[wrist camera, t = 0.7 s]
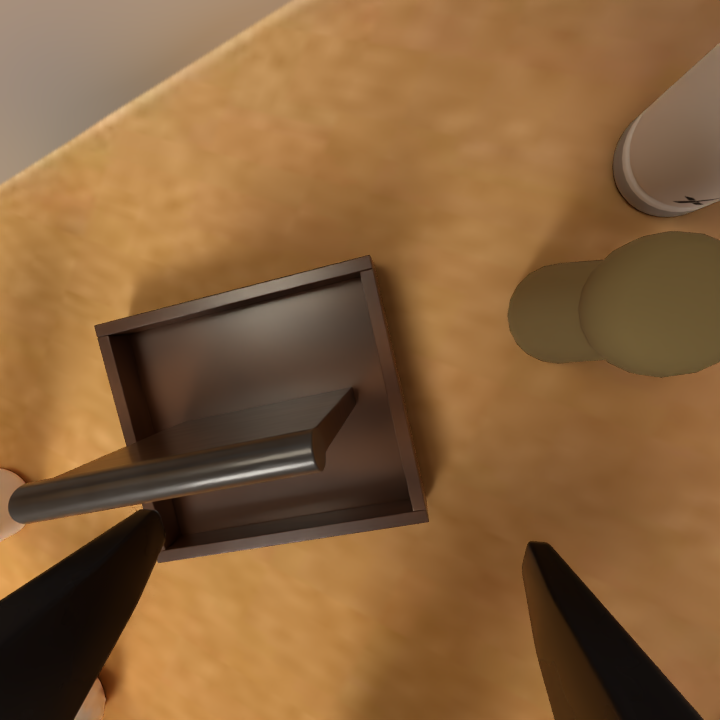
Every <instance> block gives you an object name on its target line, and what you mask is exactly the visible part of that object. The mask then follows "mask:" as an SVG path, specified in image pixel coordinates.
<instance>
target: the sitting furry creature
mask: <svg viewBox="0 0 720 720" xmlns="http://www.w3.org/2000/svg"><path fill="white" fill-rule="evenodd" d="M105 701H106V698H105V694H104V690H103V687H102V685H101V682H100V681H99V679H98V677H97V679H96V680H95V682H94V684H93V686H92V688H91V690H90V691H89V693H88V695H87V697H86V699H85V700H84V702H83V704H82V706H81V708H80V710H79V711H78V713H77V715H76V717H75V719H74V720H101V719H102V717H103V715H104V708H105Z"/></svg>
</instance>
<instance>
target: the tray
mask: <svg viewBox="0 0 720 720" xmlns="http://www.w3.org/2000/svg"><path fill="white" fill-rule="evenodd" d="M94 327H95V331H96V334H97V337H99V338H98V342H99V346H100V349H101V353H102V357H103V361H104V364H105V368H106V372H107V375H108V379H109V383H110V387H111V390H112V394H113V398H114V402H115V405H116V409H117V413H118V416H119V420H120V424H121V428H122V431H123V435H124V439H125V442H126V447H124V448H121V449H119V450H117V451H115V452H112V453H110V454H108V455H105V456H103V457H101V458H98V459H96V460H94V461H91V462H89V463H87V464H84V465H82V466H80V467H77V468H75V469H73V470H70V471H68V472H66V473H63V474H61V475H59V476H56V477H54V478H50V479H45V480H40V481H35V482H30V483H26V484H23V485H21V486H20V487H18V488H17V489H16V490H15V491H14V492H13V493H12V495H11V497H10V499H9V502H8V512H9V515H10V516H11V518H12V519H13V520H14V521H16V522H18V523H21V524H30V523H35V522H41V521H47V520H52V519H58V518H64V517H69V516H75V515H81V514H86V513H92V512H98V511H103V510H109V509H115V508H120V507H126V506H131V505H137V504H142V506H143V509H149V510H156V511H158V512H159V514H160V517H161V520H162V522H163V525H164V528H165V531H166V539H165V542H164V545H163V547H162V549H161V552H160V554H159V556H158V558H157V561H158V563H161V562H168V561H174V560H181V559H187V558H194V557H201V556H207V555H214V554H220V553H227V552H234V551H240V550H247V549H254V548H260V547H267V546H273V545H280V544H287V543H293V542H300V541H306V540H313V539H320V538H326V537H333V536H339V535H346V534H353V533H359V532H366V531H373V530H379V529H386V528H392V527H399V526H406V525H412V524H419V523H425V522H429V518H428V509H427V501H426V496H425V492H424V487H423V483H422V478H421V474H420V469H419V464H418V460H417V455H416V451H415V446H414V442H413V437H412V433H411V428H410V424H409V419H408V415H407V410H406V406H405V401H404V396H403V392H402V387H401V383H400V378H399V374H398V369H397V365H396V360H395V356H394V351H393V347H392V342H391V337H390V333H389V328H388V324H387V319H386V315H385V310H384V306H383V301H382V297H381V292H380V288H379V283H378V278H377V274H376V269H375V265H374V262H373V260H372V258H371V256H370V255H367V256H363V257H359V258H355V259H352V260H348V261H344V262H340V263H336V264H332V265H328V266H324V267H320V268H317V269H313V270H309V271H305V272H301V273H297V274H293V275H289V276H285V277H281V278H278V279H274V280H270V281H266V282H262V283H258V284H254V285H250V286H246V287H242V288H239V289H235V290H231V291H227V292H223V293H219V294H215V295H211V296H207V297H203V298H200V299H196V300H192V301H188V302H184V303H180V304H176V305H172V306H168V307H164V308H161V309H157V310H153V311H149V312H145V313H141V314H137V315H133V316H129V317H126V318H122V319H118V320H114V321H110V322H106V323H102V324H98V325H95V326H94Z"/></svg>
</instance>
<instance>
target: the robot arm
mask: <svg viewBox="0 0 720 720" xmlns="http://www.w3.org/2000/svg"><path fill="white" fill-rule="evenodd" d="M165 539H166V531H165V528H164V525H163V522H162V520H161V517H160V514H159V512H158V511H156V510H149V509H141V510H139V511H137V512H135V513H134V514H132V515H131V516H129V517H128V518H126V519H124V520H123V521H121V522H120V523H118V524H117V525H115V526H114V527H112V528H111V529H109V530H108V531H106V532H105V533H103V534H101V535H100V536H98V537H97V538H95V539H94V540H92V541H91V542H89V543H88V544H86V545H85V546H83V547H82V548H80V549H78V550H77V551H75V552H74V553H72V554H71V555H69V556H68V557H66V558H65V559H63V560H62V561H60V562H59V563H57V564H55V565H54V566H52V567H51V568H49V569H48V570H46V571H45V572H43V573H42V574H40V575H39V576H37V577H36V578H34V579H32V580H31V581H29V582H28V583H26V584H25V585H23V586H22V587H20V588H19V589H17V590H16V591H14V592H13V593H11V594H9V595H8V596H6V597H5V598H3V599H2V600H0V720H74V719H75V717H76V715H77V713H78V711H79V710H80V708H81V706H82V704H83V702H84V700H85V699H86V697H87V695H88V693H89V691H90V690H91V688H92V686H93V684H94V682H95V680H96V679H97V677H98V675H99V673H100V671H101V670H102V668H103V666H104V664H105V662H106V660H107V659H108V657H109V655H110V653H111V651H112V649H113V648H114V646H115V644H116V642H117V640H118V639H119V637H120V635H121V633H122V631H123V629H124V628H125V626H126V624H127V622H128V620H129V618H130V617H131V615H132V613H133V611H134V609H135V607H136V605H137V603H138V601H139V599H140V597H141V595H142V592H143V590H144V588H145V586H146V583H147V581H148V579H149V577H150V574H151V572H152V570H153V568H154V565H155V563H156V561H157V558H158V556H159V554H160V552H161V549H162V547H163V545H164V542H165ZM522 575H523V581H524V587H525V592H526V598H527V604H528V609H529V615H530V621H531V626H532V632H533V638H534V643H535V648H536V653H537V657H538V661H539V665H540V668H541V672H542V676H543V679H544V683H545V686H546V690H547V694H548V697H549V701H550V704H551V708H552V712H553V715H554V719H555V720H704V719H703V718H702V717H701V716H700V715H699V714H698V713H697V711H696V710H695V709H694V708H693V707H692V706H691V705H690V703H689V702H688V701H687V700H686V699H685V698H684V697H683V695H682V694H681V693H680V692H679V691H678V690H677V689H676V687H675V686H674V685H673V684H672V683H671V682H670V681H669V680H668V678H667V677H666V676H665V675H664V674H663V673H662V672H661V670H660V669H659V668H658V667H657V666H656V665H655V664H654V662H653V661H652V660H651V659H650V658H649V657H648V656H647V654H646V653H645V652H644V651H643V650H642V649H641V648H640V646H639V645H638V644H637V643H636V642H635V641H634V640H633V638H632V637H631V636H630V635H629V634H628V633H627V632H626V631H625V629H624V628H623V627H622V626H621V625H620V624H619V623H618V621H617V620H616V619H615V618H614V617H613V616H612V615H611V613H610V612H609V611H608V610H607V609H606V608H605V607H604V605H603V604H602V603H601V602H600V601H599V600H598V599H597V597H596V596H595V595H594V594H593V593H592V592H591V591H590V590H589V588H588V587H587V586H586V585H585V584H584V583H583V582H582V580H581V579H580V578H579V577H578V576H577V575H576V574H575V572H574V571H573V570H572V569H571V568H570V567H569V566H568V564H567V563H566V562H565V561H564V560H563V559H562V558H561V556H560V555H559V554H558V553H557V552H556V551H555V550H554V549H553V547H552V546H551V545H550V544H548V543H546V542H538V541H530V542H528V544H527V547H526V551H525V556H524V560H523V564H522Z"/></svg>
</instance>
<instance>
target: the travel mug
mask: <svg viewBox="0 0 720 720" xmlns="http://www.w3.org/2000/svg"><path fill="white" fill-rule="evenodd" d="M613 172H614V178H615V181H616V185H617V187H618V189H619V191H620V192H621V194H622V196H623V197H624V198H625V199H626V200H627V201H628V202H629V204H631V205H632V206H634V207H635V208H636V209H638V210H640V211H642V212H644V213H647V214H650V215H654V216H659V217H673V216H679V215H684V214H687V213H690V212H693V211H695V210H698V209H700V208H703V207H705V206H708V205H710V204H712V203H715V202H718V201H720V43H718V44H717V45H716V46H715V47H714V48H713V49H712V50H711V51H710V52H709V53H707V54H706V55H705V56H704V57H703V58H702V59H701V60H700V61H699V62H698V63H696V64H695V65H694V66H693V67H692V68H691V69H690V70H689V71H688V72H686V73H685V74H684V75H683V76H682V77H681V78H680V79H679V80H678V81H677V82H675V83H674V84H673V85H672V86H671V87H670V88H669V89H668V90H667V91H666V92H664V93H663V94H662V95H661V96H660V97H659V98H658V99H657V100H656V101H655V102H653V103H652V104H651V105H650V106H649V107H648V108H647V109H646V110H645V111H643V112H642V113H641V114H640V115H639V116H638V117H637V118H636V119H635V120H634V121H632V122H631V123H630V125H629V126H628V127H627V128H626V130H625V131H624V132H623V134H622V136H621V138H620V139H619V141H618V143H617V147H616V150H615V153H614V160H613Z"/></svg>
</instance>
